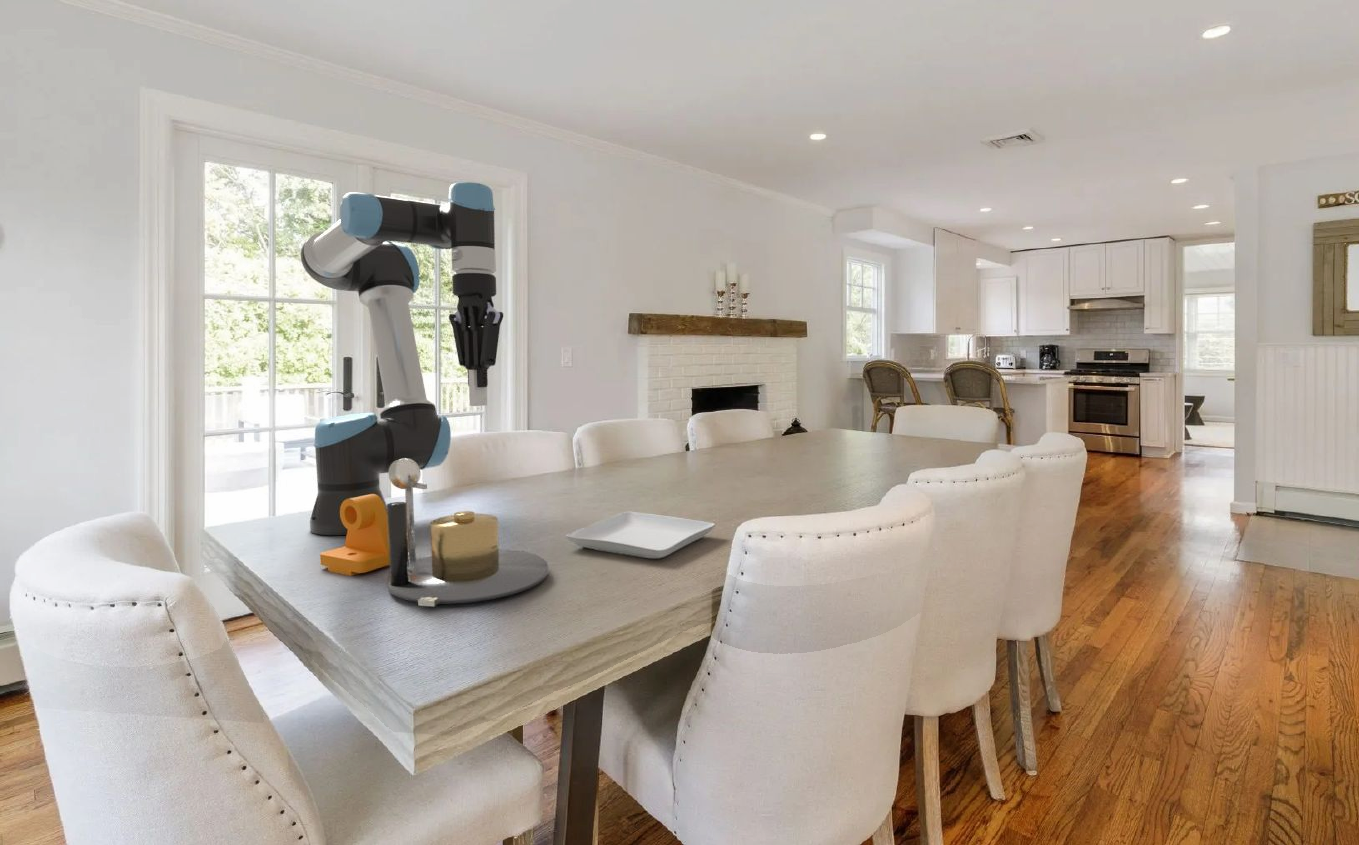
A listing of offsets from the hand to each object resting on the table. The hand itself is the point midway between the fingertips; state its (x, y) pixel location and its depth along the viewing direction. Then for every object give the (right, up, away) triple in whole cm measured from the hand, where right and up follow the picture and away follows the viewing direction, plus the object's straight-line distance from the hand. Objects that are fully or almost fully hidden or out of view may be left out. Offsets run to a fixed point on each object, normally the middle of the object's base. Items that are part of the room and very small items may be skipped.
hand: (478, 405), depth 126 cm
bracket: (-18, -28, -9) cm, 34 cm away
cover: (+3, -26, -17) cm, 32 cm away
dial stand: (-9, -27, -8) cm, 30 cm away
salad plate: (+30, -27, +5) cm, 40 cm away
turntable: (+4, -28, -17) cm, 33 cm away
